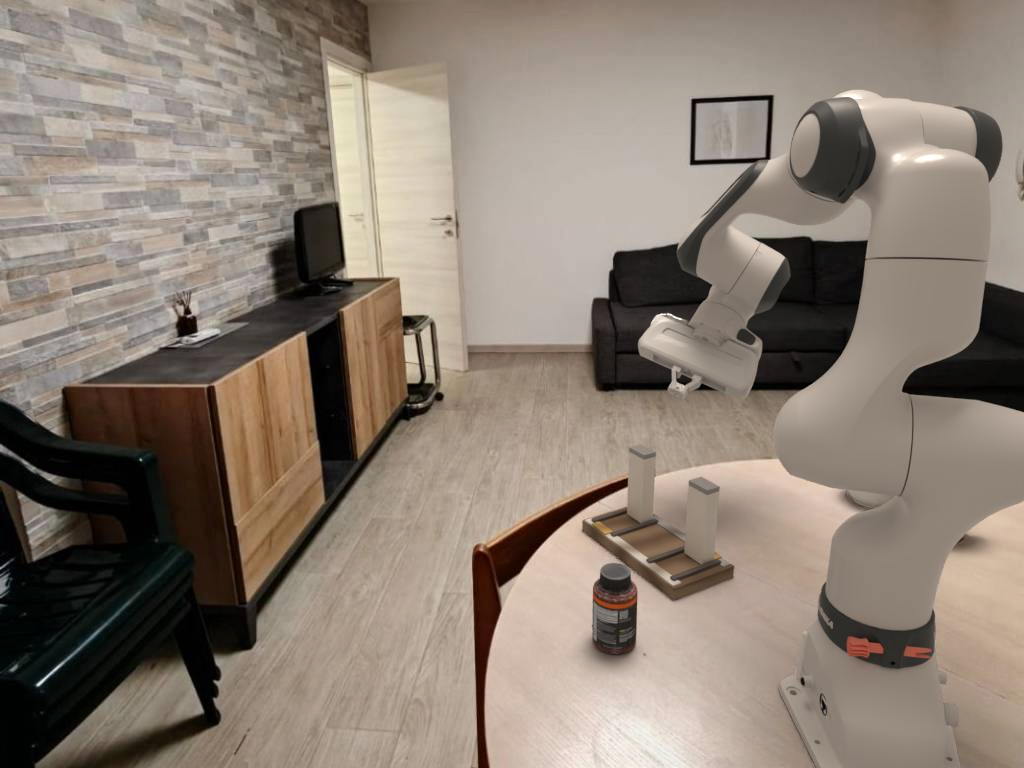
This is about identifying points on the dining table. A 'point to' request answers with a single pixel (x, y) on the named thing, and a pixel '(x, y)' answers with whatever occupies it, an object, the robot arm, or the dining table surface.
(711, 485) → the tab
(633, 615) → the supplement bottle
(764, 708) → the dining table surface
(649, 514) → the tab
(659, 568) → the slotted wooden base
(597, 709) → the dining table surface
